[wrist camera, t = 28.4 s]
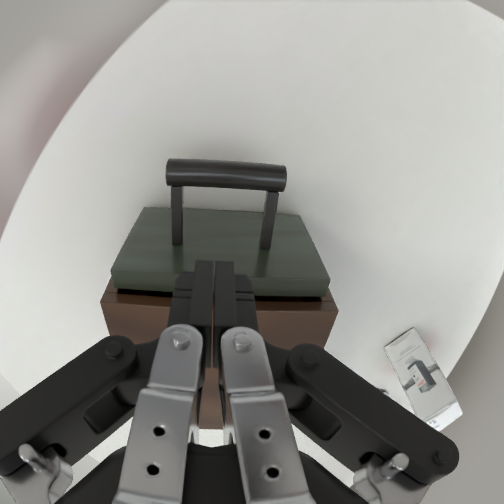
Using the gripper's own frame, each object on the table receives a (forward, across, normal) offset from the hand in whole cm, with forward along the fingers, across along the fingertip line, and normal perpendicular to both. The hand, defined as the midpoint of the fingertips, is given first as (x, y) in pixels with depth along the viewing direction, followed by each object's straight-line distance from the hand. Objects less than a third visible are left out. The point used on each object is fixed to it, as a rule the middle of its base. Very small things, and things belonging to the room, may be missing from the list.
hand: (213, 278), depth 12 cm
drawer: (+10, 0, +6) cm, 11 cm away
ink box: (+11, -26, +19) cm, 34 cm away
